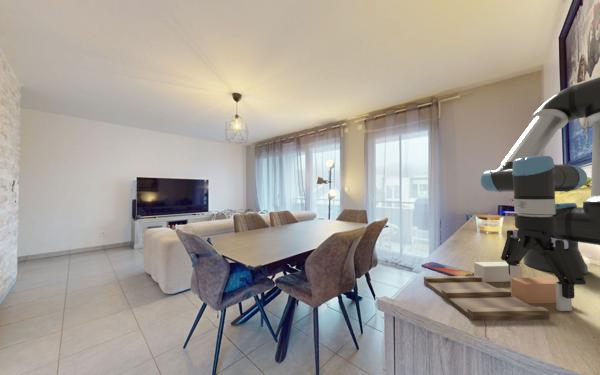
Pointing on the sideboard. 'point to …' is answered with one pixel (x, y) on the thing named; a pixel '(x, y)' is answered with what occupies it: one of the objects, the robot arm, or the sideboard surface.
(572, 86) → the robot arm
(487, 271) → the cream stub
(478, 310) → the comb board
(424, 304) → the sideboard surface
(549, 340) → the sideboard surface
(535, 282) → the terracotta stub
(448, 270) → the smartphone
